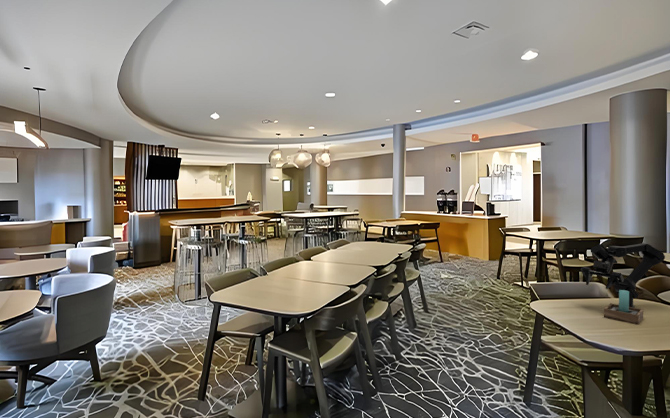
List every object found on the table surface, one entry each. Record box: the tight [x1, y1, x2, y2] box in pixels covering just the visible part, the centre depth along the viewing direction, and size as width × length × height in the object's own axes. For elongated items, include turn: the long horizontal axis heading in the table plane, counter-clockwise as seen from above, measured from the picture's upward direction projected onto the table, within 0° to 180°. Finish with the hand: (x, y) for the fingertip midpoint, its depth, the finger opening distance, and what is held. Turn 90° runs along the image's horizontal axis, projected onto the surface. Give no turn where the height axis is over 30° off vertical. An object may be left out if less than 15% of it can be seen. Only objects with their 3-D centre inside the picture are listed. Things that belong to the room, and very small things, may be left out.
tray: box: [603, 302, 644, 325], centre depth 180 cm, size 14×14×4 cm
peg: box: [618, 290, 629, 313], centre depth 180 cm, size 4×4×13 cm
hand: (596, 286), depth 190 cm, fingers open, 9 cm apart
